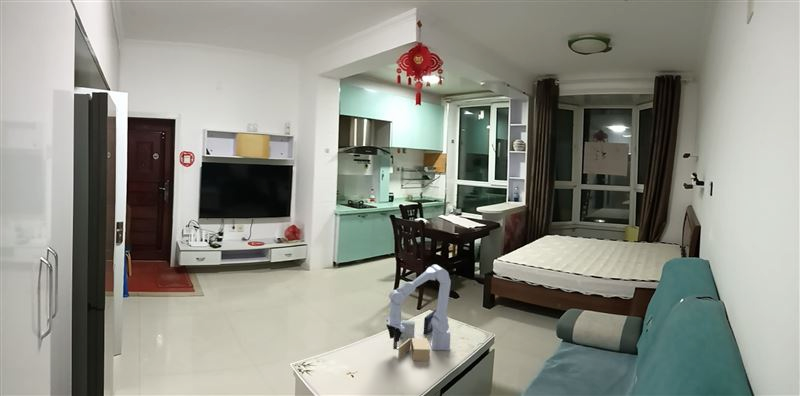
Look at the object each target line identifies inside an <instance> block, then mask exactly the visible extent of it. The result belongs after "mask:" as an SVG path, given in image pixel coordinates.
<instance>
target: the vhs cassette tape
mask: <svg viewBox="0 0 800 396" xmlns="http://www.w3.org/2000/svg"><path fill="white" fill-rule="evenodd" d="M436 310H437V308H436V309H435V310H433V311H432V312H431V313H429V314H428V315H426V316H425V317H424V320H423V334H424V335H429V334H430V333H433V325H432V324H431V320H432V318H433V315H434V313H435V312H436Z"/></svg>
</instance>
